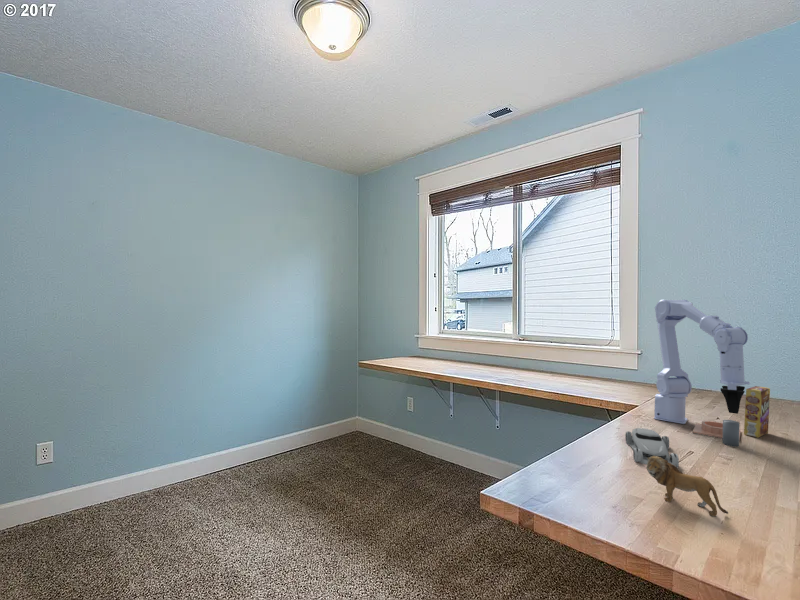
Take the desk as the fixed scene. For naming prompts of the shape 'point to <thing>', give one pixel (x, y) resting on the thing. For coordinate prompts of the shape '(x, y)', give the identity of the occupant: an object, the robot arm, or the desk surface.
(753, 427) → the candy box
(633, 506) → the desk surface
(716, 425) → the tube holder
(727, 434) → the tube
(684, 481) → the lion figurine
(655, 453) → the car model
